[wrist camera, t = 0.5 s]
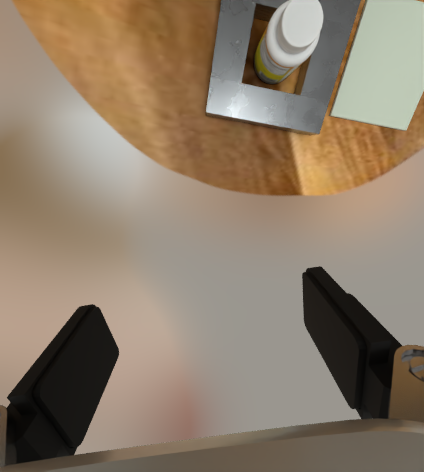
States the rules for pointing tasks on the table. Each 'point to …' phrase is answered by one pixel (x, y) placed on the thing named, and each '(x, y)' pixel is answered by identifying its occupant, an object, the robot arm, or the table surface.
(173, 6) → the table surface
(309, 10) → the supplement bottle
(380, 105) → the sage mat
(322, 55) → the socket block
